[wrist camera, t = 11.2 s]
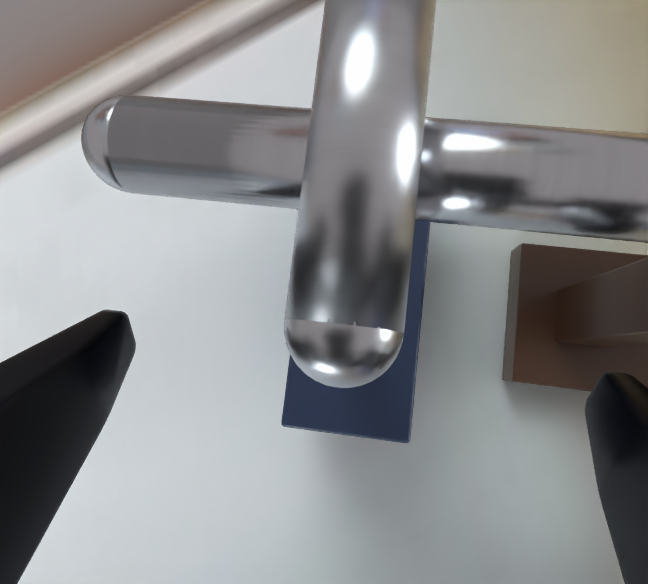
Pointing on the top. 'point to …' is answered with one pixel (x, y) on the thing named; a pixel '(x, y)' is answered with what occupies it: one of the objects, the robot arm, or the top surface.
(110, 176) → the brown hanging stand
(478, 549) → the top surface
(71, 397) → the robot arm
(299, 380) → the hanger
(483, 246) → the top surface
